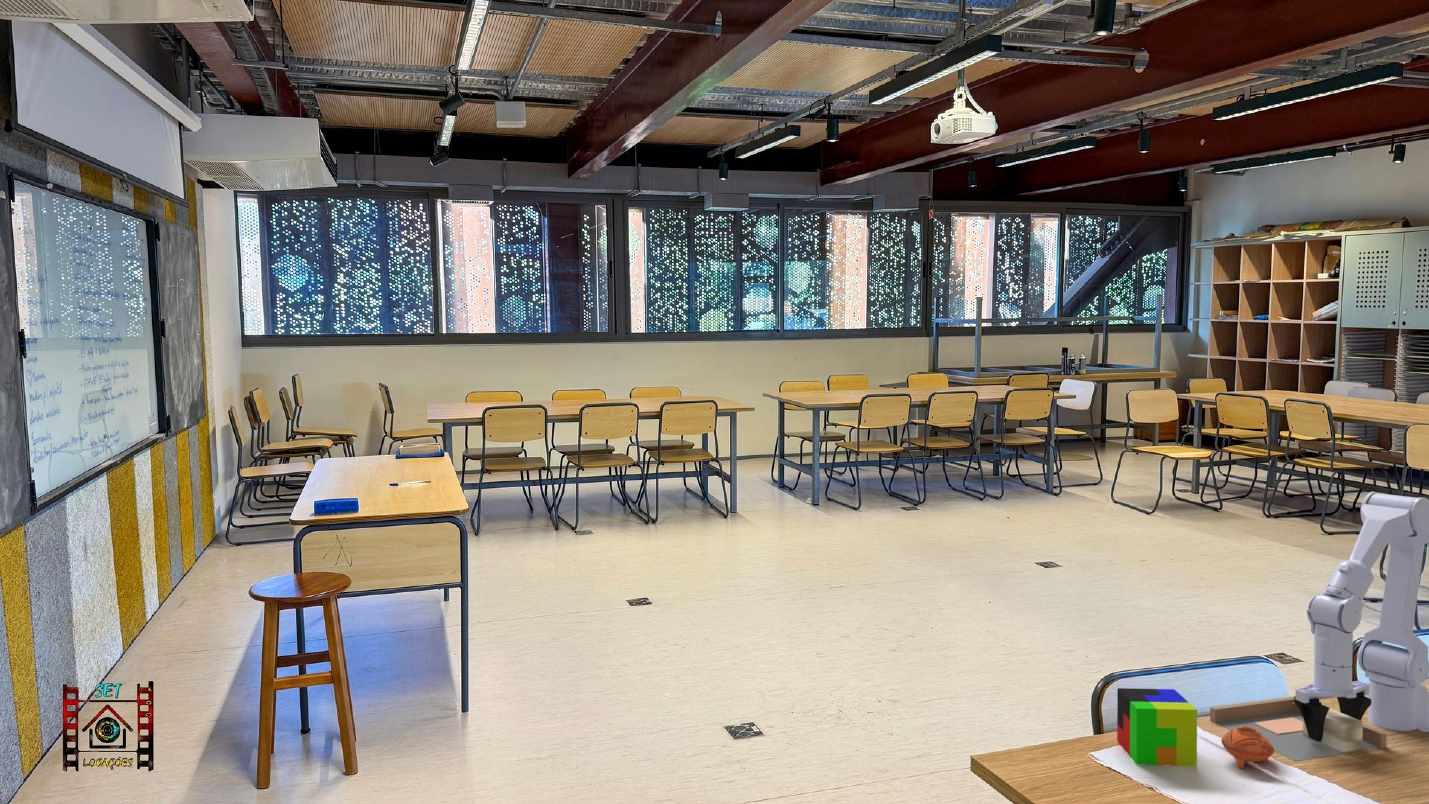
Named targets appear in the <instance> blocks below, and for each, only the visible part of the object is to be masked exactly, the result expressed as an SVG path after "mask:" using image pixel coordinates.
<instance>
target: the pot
mask: <svg viewBox="0 0 1429 804" xmlns="http://www.w3.org/2000/svg"><path fill="white" fill-rule="evenodd" d="M1220 741H1221V744H1222V746H1223V748H1225V750H1226V751H1227V752H1228V753H1229V754H1230V755H1231V756H1233V758H1235V760H1236V765H1237V767H1238V769H1240V770H1243V768H1244V766H1245V763H1246V762H1248V763H1259V762H1260V763H1261V762H1264V763H1266V762H1268V761H1269V758H1270V757H1272V755H1273V754H1274V753H1275V752H1274V748H1273V747H1272V745H1271V743H1270V742H1269V741H1268V740H1267V739H1266V738H1265V737H1264V736H1263V735H1261V732H1260V731H1258V730H1256V729H1254V728H1251V727H1245V726H1242V727H1236V729H1234V730H1229V731H1227V732H1226V733H1225V734H1224V735H1222V737H1221V739H1220Z"/></svg>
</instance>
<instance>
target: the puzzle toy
mask: <svg viewBox="0 0 1429 804" xmlns="http://www.w3.org/2000/svg"><path fill="white" fill-rule="evenodd" d="M1116 690H1117V693H1116V694H1117V695H1116V696H1117V704H1116V705H1117V712H1116V713H1117V715H1116V716H1117V721H1116V724H1117V725H1116V726H1117V728H1116V730H1117V731H1116V732H1117V733H1116V734H1117V736H1116V737H1117V738H1116V740H1117V743H1118V744H1119V745H1120V747H1123V748H1124V749H1125V750H1124V749H1123V748H1122V749H1123V750H1124V752H1125V753H1126V752H1127V753H1128V754H1129V755H1130V756H1129V755H1128V754H1127V753H1126V754H1127V755H1128V756H1129V757H1130V758H1132V759H1133V760H1134V761H1135V762H1134V761H1133V760H1132V759H1131V760H1132V761H1133V762H1134V763H1136V764H1147V765H1146V766H1162V765H1169V767H1170V766H1171V767H1178V766H1179V767H1198V766H1197V765H1198V709H1197V708H1196V707H1195V706H1193V704H1192V703H1190V702H1189V701H1188V700H1187V699H1186V698H1184V696H1183V695H1181V694H1180V693H1179V692H1178V691H1177V690H1176V689H1174V688H1134V687H1133V688H1132V687H1131V688H1129V687H1126V688H1124V687H1122V688H1121V687H1118V688H1117V689H1116ZM1136 764H1135V765H1136ZM1148 764H1149V765H1148Z"/></svg>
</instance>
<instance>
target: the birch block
mask: <svg viewBox="0 0 1429 804" xmlns="http://www.w3.org/2000/svg"><path fill="white" fill-rule="evenodd" d="M1363 724H1364V723H1363V721H1362V720H1361V721H1360V720H1358V719H1355V718H1353V717H1350V716H1348V715H1345V714H1343V713H1340V711H1338V710H1335V709H1334V708H1333V709H1332V708H1330V709H1329V711H1328V713H1327V715H1326V718H1325V722H1324V729H1323V738H1322V741H1320V743H1323V744H1325V745H1327V746H1329V747H1332V748H1334V749H1336V750H1338V751H1341V752H1348V751H1355V750H1361V749H1362V736H1363ZM1303 735H1305V736H1307V737H1309V736H1308V732H1307V728H1306V725H1305V722H1304V719H1303Z"/></svg>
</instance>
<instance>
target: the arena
mask: <svg viewBox="0 0 1429 804" xmlns="http://www.w3.org/2000/svg"><path fill="white" fill-rule="evenodd" d="M1295 696H1296V695H1295ZM1295 696H1289V697H1288V696H1287V697H1281V698H1280V697H1279V698H1272V699H1266V700H1265V699H1264V700H1256V701H1249V702H1242V703H1240V702H1239V703H1232V704H1226V705H1219V706H1211V707H1209V709H1210V710H1209V712H1210V713H1209V720H1210V721H1211V723H1212V722H1213V723H1214V724H1217V725H1219V726H1221V727H1223V728H1225V729H1226V730H1227V729H1228V730H1229V731H1231V730H1234V729H1236V727H1242V726H1245V727H1251V728H1254V729H1256V730H1258V731H1260V732H1261V735H1263V736H1264V737H1265V738H1266V739H1267V740H1268V741H1269V742H1270V743H1271V745H1272V747H1273V748H1274V753H1277V754H1279V755H1280V756H1283V757H1285V758H1287V759H1288V760H1289V759H1290V760H1291V761H1294V762H1299V761H1306V760H1312V759H1313V760H1314V759H1319V758H1325V757H1333V756H1338V755H1339V756H1340V755H1346V754H1353V753H1359V752H1365V751H1374V750H1377V749H1378V750H1379V749H1385V748H1387V737H1388V736H1387V732H1384V731H1381V730H1380V729H1377V728H1374V727H1372V726H1370V725H1367V724H1364V723H1363V736H1362V749H1361V750H1355V751H1348V752H1341V751H1338V750H1336V749H1334V748H1332V747H1329V746H1327V745H1325V744H1323V743H1320V742H1318V741H1315V740H1313V739H1311V738H1309V737H1307V736H1305V735H1303V716H1302V714H1301V712H1300V710H1299V708H1298V707H1297V705H1296V704H1295V702H1294V697H1295ZM1293 703H1294V704H1293Z"/></svg>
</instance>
